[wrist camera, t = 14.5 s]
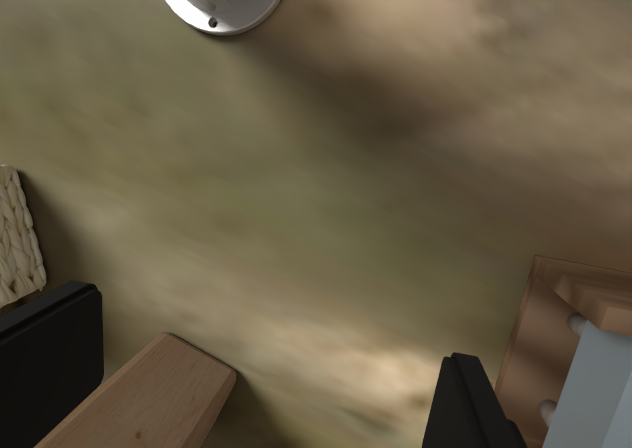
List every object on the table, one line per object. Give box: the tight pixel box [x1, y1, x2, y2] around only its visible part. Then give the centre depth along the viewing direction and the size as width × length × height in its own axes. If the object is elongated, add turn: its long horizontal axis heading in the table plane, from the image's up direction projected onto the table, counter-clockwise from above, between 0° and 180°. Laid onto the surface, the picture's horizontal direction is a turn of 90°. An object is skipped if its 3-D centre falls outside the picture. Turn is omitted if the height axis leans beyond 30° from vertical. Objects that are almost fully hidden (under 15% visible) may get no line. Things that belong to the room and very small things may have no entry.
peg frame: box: [494, 255, 632, 448], centre depth 30 cm, size 19×12×11 cm, turn 171°
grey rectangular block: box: [542, 320, 632, 448], centre depth 29 cm, size 14×5×6 cm, turn 171°
